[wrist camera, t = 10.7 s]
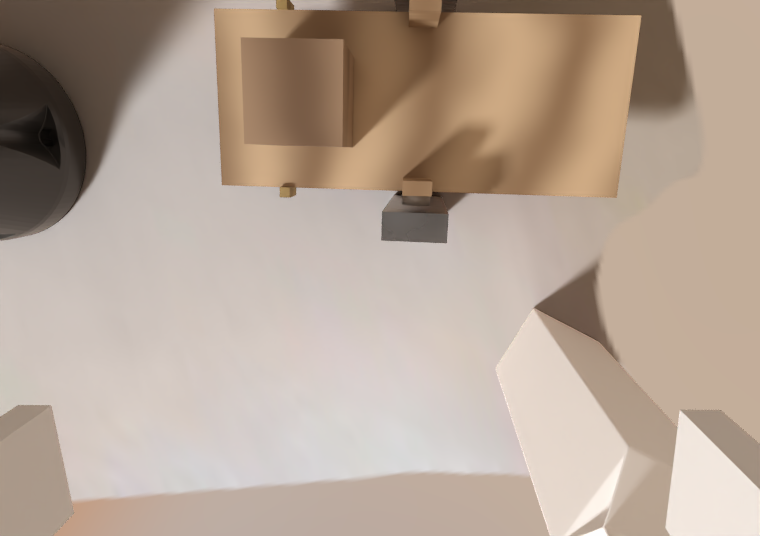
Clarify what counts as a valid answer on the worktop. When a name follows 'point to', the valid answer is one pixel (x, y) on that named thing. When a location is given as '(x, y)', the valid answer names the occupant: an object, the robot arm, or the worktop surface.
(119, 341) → the worktop surface
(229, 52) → the tan piece
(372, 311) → the worktop surface
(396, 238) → the fulcrum
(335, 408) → the worktop surface
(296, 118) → the block
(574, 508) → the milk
